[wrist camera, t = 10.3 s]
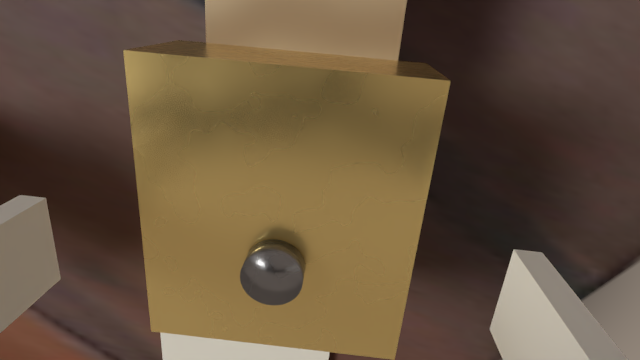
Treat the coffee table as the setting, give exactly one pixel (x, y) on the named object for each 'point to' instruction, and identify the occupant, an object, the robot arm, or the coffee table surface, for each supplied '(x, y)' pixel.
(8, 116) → the coffee table surface
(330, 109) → the yellow block with knob
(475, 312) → the coffee table surface
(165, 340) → the felt pad
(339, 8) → the body
